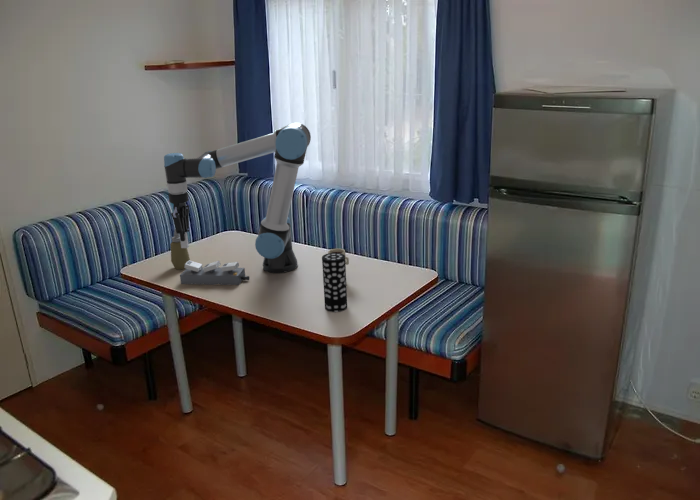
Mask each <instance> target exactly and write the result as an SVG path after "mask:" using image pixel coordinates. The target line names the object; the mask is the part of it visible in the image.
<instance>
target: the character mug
mask: <svg viewBox="0 0 700 500" xmlns="http://www.w3.org/2000/svg"><path fill="white" fill-rule="evenodd" d="M328 253H341V254H344V255H345V265H347V266H348V265H349V263H350V262H349V261H350V258H349V257H348V256H346V250H345V249H344V248H332V249H329V250H328V251H327V254H328Z"/></svg>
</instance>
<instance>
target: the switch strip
mask: <svg viewBox="0 0 700 500" xmlns="http://www.w3.org/2000/svg"><path fill="white" fill-rule="evenodd" d="M204 267H205V266H204ZM204 267H203V266H202V269H201V270H200V271H199V272H196V271H193V270H189V269H186V268H185V269H184V270H183V271H182V273H180V274H179V278H180V279H179V280H180V284H181V285H216V284H220V285H222V286H223V285H224V286H225V285H227V286H232V285H233V286H234V285H235V286H239V285H240V284H241V283H242V282H243V281H249V280H250V276H249V275H246V272H245V267H238V268H237V269H236V270H229V271H222V269H221V267H220V266H219V267H218V268H216V269H213V270H210V271H207V272H204V270H203V268H204ZM241 281H242V282H241ZM220 285H219V286H220Z"/></svg>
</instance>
